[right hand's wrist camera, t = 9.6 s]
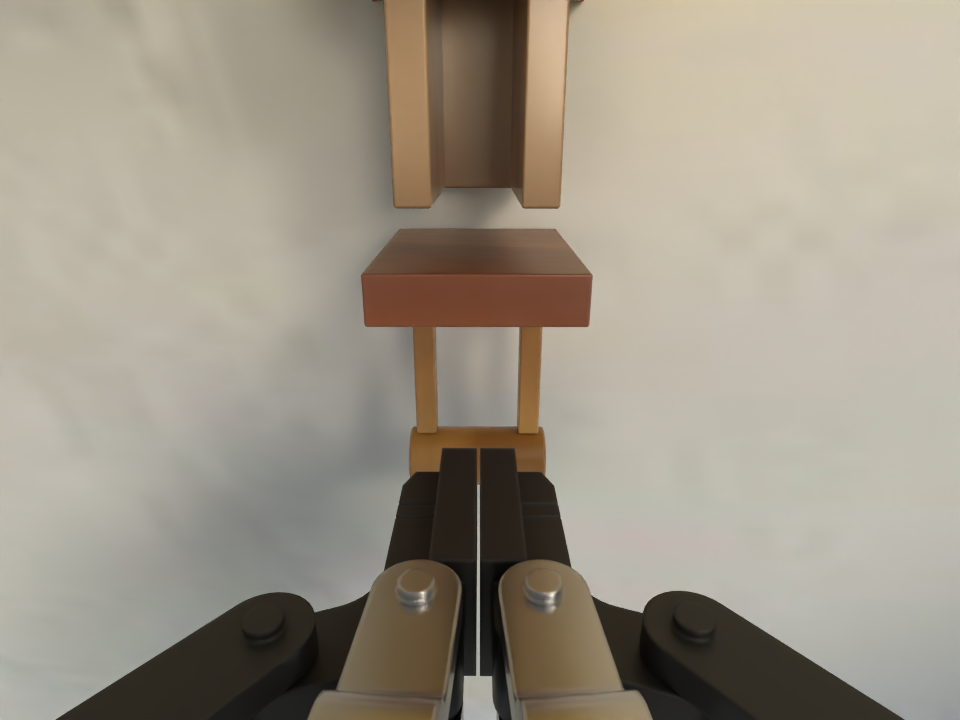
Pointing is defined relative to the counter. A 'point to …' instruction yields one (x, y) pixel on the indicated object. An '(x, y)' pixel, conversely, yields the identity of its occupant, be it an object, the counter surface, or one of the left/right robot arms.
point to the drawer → (476, 164)
